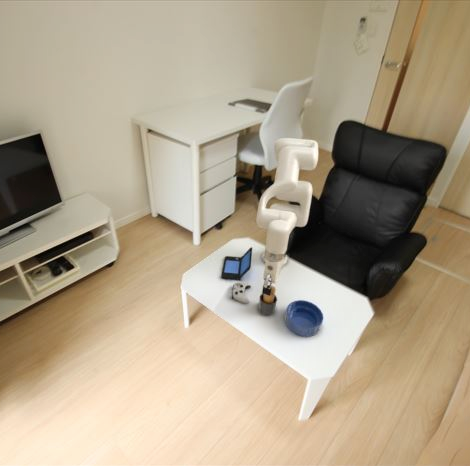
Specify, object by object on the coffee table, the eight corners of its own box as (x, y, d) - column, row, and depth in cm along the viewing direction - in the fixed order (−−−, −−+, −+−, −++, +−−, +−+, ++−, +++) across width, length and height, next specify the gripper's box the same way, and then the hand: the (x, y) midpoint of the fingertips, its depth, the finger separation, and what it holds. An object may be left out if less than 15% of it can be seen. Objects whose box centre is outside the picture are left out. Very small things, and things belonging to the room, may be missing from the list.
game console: (224, 257, 160) (225, 243, 155) (251, 260, 158) (252, 246, 153) (220, 279, 148) (220, 264, 142) (249, 282, 146) (250, 267, 140)
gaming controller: (249, 303, 134) (238, 294, 132) (238, 309, 138) (228, 299, 136) (252, 285, 143) (241, 275, 141) (241, 290, 146) (231, 281, 144)
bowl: (289, 304, 135) (291, 295, 132) (323, 316, 130) (326, 307, 126) (280, 329, 125) (282, 320, 122) (316, 343, 120) (319, 334, 117)
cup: (261, 301, 137) (263, 289, 133) (277, 306, 134) (279, 295, 130) (256, 312, 132) (257, 301, 128) (272, 318, 129) (274, 307, 125)
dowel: (263, 303, 135) (266, 283, 128) (273, 307, 134) (276, 287, 126) (260, 310, 132) (262, 290, 125) (270, 314, 130) (273, 294, 123)
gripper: (278, 269, 106) (272, 304, 116) (291, 241, 119) (285, 275, 129) (257, 263, 109) (253, 297, 119) (272, 236, 122) (268, 269, 132)
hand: (270, 285), depth 124 cm, fingers open, 9 cm apart
